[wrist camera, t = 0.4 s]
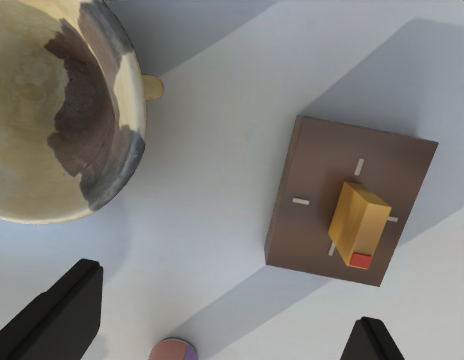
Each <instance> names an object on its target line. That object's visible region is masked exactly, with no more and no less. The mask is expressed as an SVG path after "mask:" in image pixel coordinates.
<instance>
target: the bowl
mask: <svg viewBox="0 0 464 360" xmlns="http://www.w3.org/2000/svg"><path fill="white" fill-rule="evenodd" d="M163 91H164V86H163V83H162V82H161V80H160V79H159V78H158V77H156V76H153V75H142V73H141V70H140V67H139V63H138V60H137V57H136V54H135V52H134V47H133V45H132V43H131V41H130V39H129V37H128V35H127V33H126V32H125V30H124V28H123V26H122V25H121V23H120V21H119V20H118V18H117V17H116V16H115V15H114V14H113V12H112V11H111V10H110V8H109V7H108V6H107V5H106V4H105V3H104V1H103V0H0V219H2V220H7V221H11V222H17V223H24V224H51V223H60V222H67V221H72V220H76V219H79V218H82V217H84V216H87V215H89V214H92V213H94V212H95V211H97V210H99V209H100V208H101V207H103V206H104V205H106V204H107V203H108V202H109V201H111V200H112V199H113V198H114V197H115V196H116V195H117V194H118V193H119V191H120V190H121V189H122V188H123V187H124V186H125V185H126V184H127V182H128V181H129V179H130V178H131V177H132V175H133V174H134V172H135V170H136V168H137V166H138V164H139V162H140V160H141V158H142V155H143V153H144V149H145V137H146V121H147V107H146V101H147V100H152V99H158V98H160V97H161V96H162V94H163Z"/></svg>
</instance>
